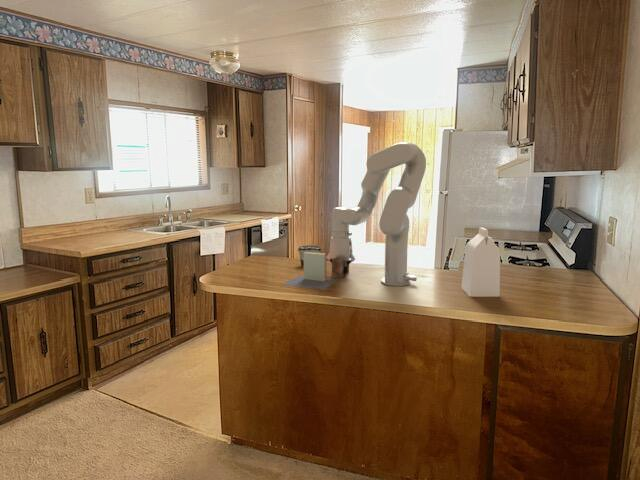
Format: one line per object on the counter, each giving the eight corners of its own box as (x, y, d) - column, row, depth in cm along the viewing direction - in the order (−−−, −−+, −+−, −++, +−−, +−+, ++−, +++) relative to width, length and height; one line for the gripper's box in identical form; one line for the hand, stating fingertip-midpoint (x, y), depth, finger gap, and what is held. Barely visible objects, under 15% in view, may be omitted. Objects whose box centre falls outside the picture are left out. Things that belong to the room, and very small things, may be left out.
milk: (461, 287, 189) (464, 226, 184) (489, 287, 188) (492, 226, 184) (469, 296, 177) (473, 231, 172) (499, 296, 177) (503, 231, 172)
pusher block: (349, 273, 213) (349, 255, 211) (340, 280, 202) (340, 260, 201) (341, 273, 215) (341, 254, 213) (331, 279, 204) (331, 260, 202)
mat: (339, 280, 201) (339, 279, 201) (324, 291, 186) (324, 289, 186) (299, 276, 209) (299, 275, 209) (281, 286, 194) (281, 284, 194)
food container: (323, 264, 233) (323, 245, 231) (322, 266, 227) (322, 247, 225) (299, 263, 234) (299, 244, 232) (298, 266, 228) (297, 247, 226)
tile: (326, 279, 201) (326, 253, 198) (324, 281, 198) (324, 254, 196) (306, 277, 205) (305, 251, 202) (303, 279, 202) (303, 252, 200)
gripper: (360, 234, 205) (360, 273, 208) (326, 232, 211) (327, 270, 215) (355, 237, 198) (355, 277, 201) (320, 234, 205) (320, 273, 208)
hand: (340, 273), depth 208 cm, fingers closed on pusher block, 4 cm apart
